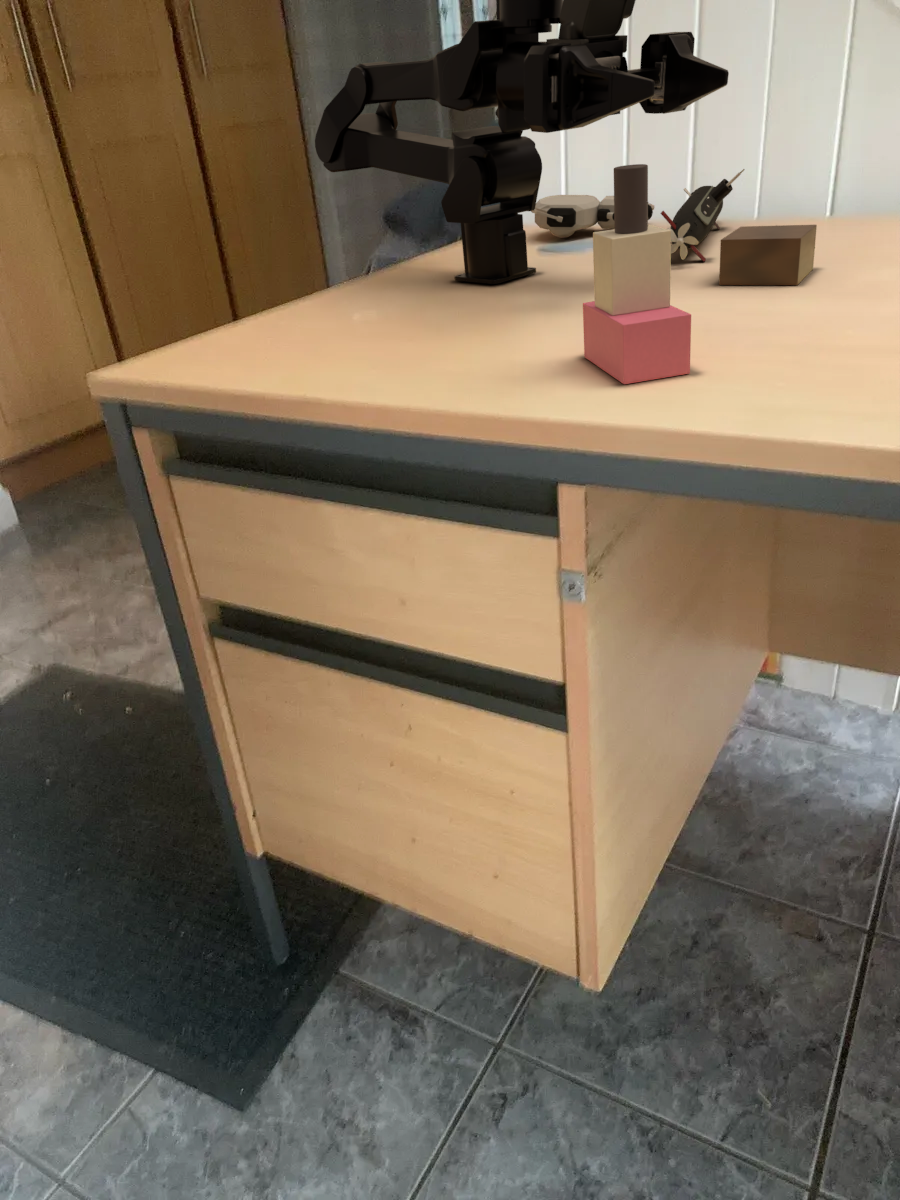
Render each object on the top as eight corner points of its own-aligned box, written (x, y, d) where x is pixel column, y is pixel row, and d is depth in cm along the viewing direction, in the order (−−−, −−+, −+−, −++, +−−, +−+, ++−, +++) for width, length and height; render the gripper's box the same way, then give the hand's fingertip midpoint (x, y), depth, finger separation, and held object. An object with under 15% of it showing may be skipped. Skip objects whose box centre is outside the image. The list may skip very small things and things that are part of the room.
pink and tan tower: (584, 357, 70) (578, 167, 64) (644, 347, 71) (644, 159, 65) (623, 384, 63) (621, 175, 57) (690, 373, 64) (695, 165, 58)
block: (718, 285, 87) (720, 239, 85) (738, 269, 92) (740, 226, 90) (797, 285, 84) (801, 238, 82) (813, 269, 89) (816, 224, 87)
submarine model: (673, 292, 97) (753, 219, 91) (629, 244, 96) (707, 167, 90) (703, 240, 122) (766, 181, 117) (668, 201, 121) (731, 139, 116)
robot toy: (655, 228, 125) (543, 226, 128) (657, 191, 122) (544, 190, 126) (646, 244, 115) (525, 242, 118) (649, 204, 112) (526, 203, 116)
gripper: (472, -25, 76) (616, -36, 66) (627, -32, 86) (775, -42, 75) (476, 127, 82) (609, 140, 72) (621, 105, 92) (756, 113, 82)
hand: (691, 83), depth 75 cm, fingers open, 9 cm apart
